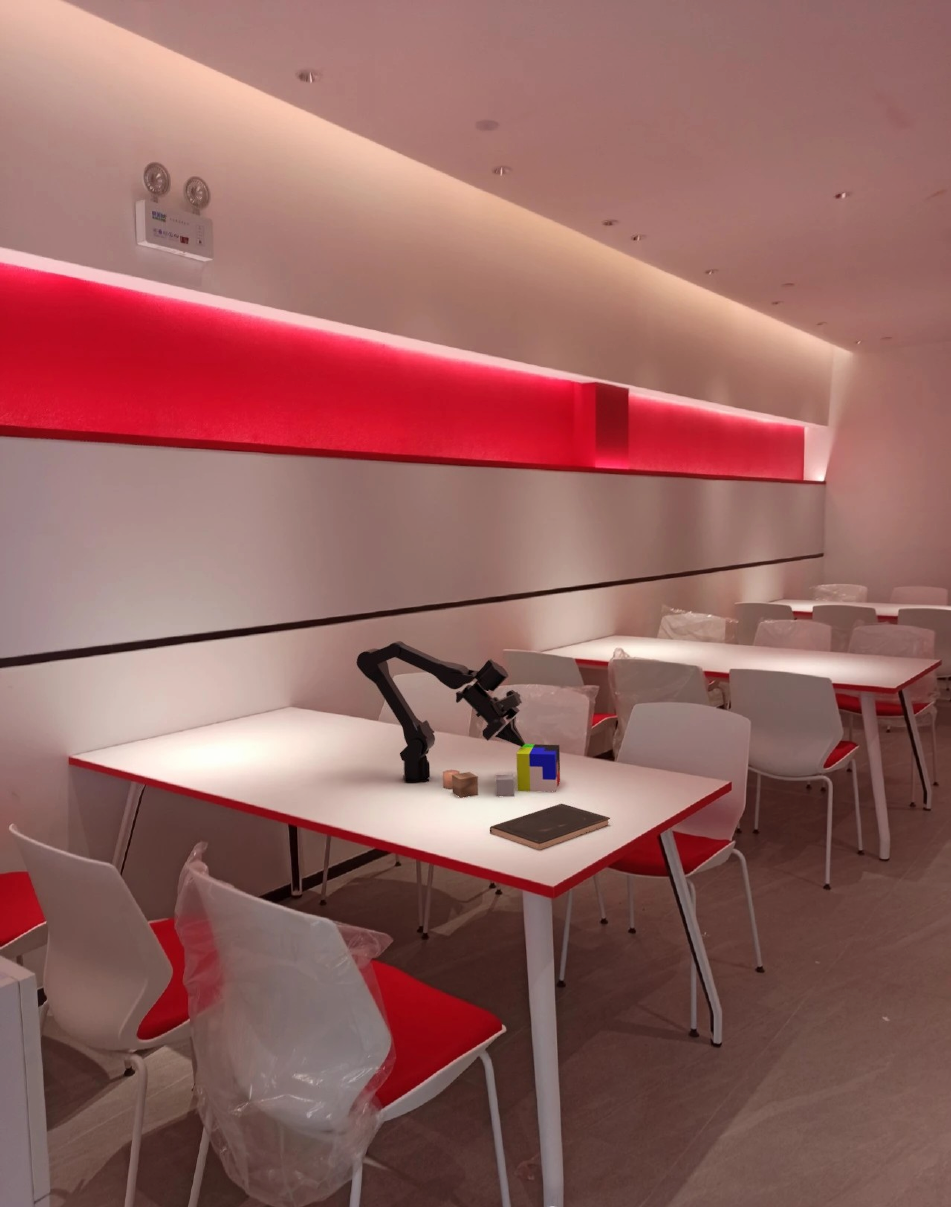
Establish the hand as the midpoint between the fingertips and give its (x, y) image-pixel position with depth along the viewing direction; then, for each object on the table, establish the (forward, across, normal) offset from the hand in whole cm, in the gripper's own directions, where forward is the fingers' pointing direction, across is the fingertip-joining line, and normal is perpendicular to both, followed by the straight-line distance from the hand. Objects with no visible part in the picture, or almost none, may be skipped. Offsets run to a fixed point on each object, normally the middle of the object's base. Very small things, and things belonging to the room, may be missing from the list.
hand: (523, 745), depth 250 cm
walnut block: (-2, -10, +17) cm, 20 cm away
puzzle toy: (+11, 0, +5) cm, 12 cm away
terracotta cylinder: (-6, -5, +21) cm, 22 cm away
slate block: (+6, -8, +10) cm, 14 cm away
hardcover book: (+18, -33, -2) cm, 37 cm away
